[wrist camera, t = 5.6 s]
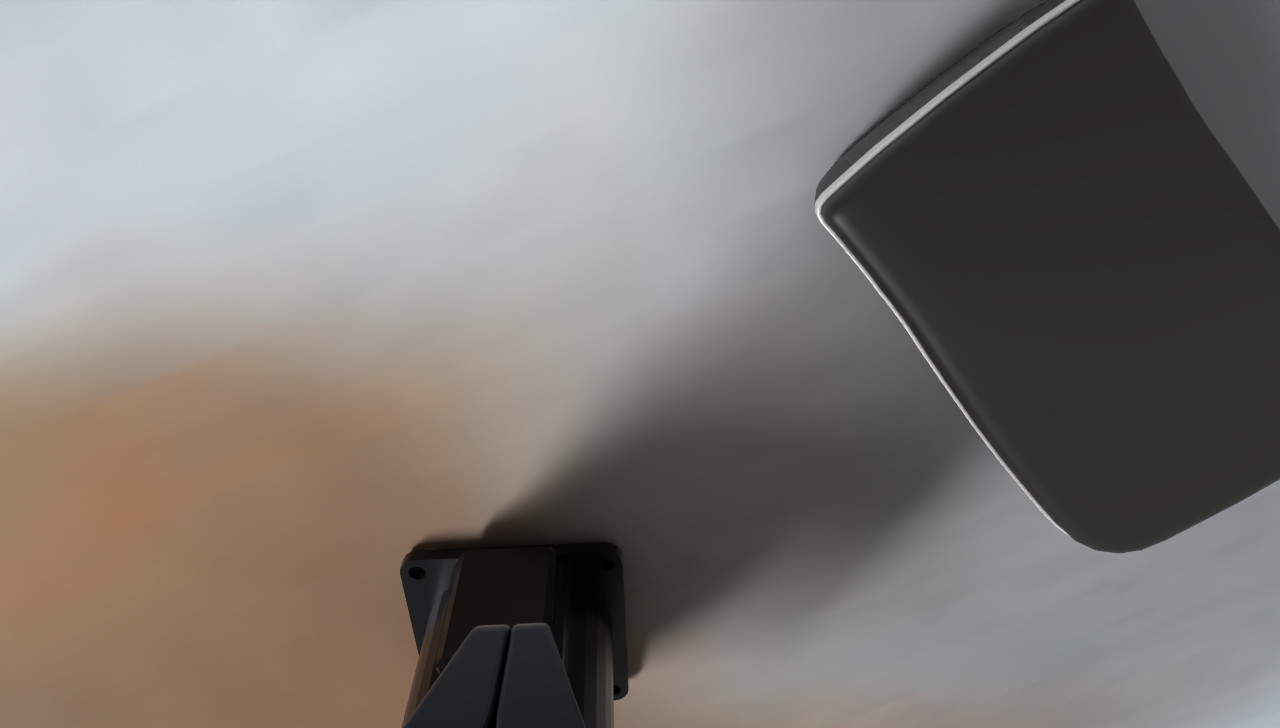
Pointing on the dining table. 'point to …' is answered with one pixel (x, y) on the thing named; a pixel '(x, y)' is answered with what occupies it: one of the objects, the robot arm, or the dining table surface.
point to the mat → (1229, 78)
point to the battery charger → (1079, 272)
